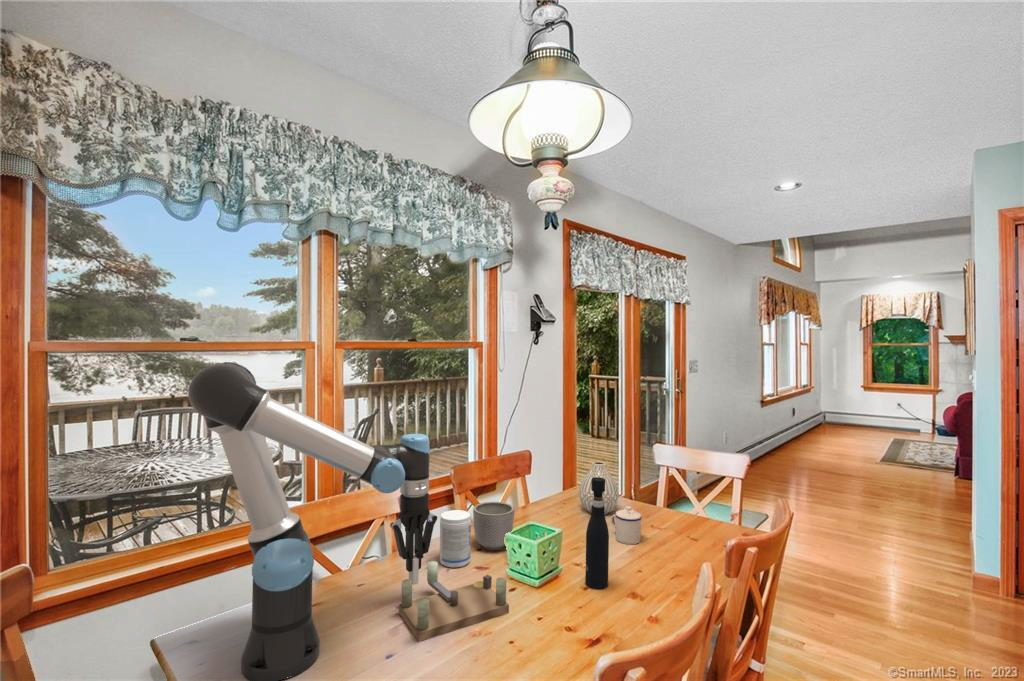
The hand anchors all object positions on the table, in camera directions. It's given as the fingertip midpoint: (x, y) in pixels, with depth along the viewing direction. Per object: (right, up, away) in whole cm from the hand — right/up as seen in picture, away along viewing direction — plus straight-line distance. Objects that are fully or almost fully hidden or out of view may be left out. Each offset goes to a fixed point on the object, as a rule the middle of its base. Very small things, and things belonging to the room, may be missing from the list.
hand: (413, 582), depth 129 cm
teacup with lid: (+66, -6, +43) cm, 79 cm away
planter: (+20, -5, +34) cm, 40 cm away
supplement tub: (+8, -5, +23) cm, 25 cm away
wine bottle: (+50, -6, +10) cm, 52 cm away
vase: (+62, -6, +71) cm, 94 cm away
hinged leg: (+7, -2, 0) cm, 8 cm away
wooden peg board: (+11, -5, -6) cm, 14 cm away
